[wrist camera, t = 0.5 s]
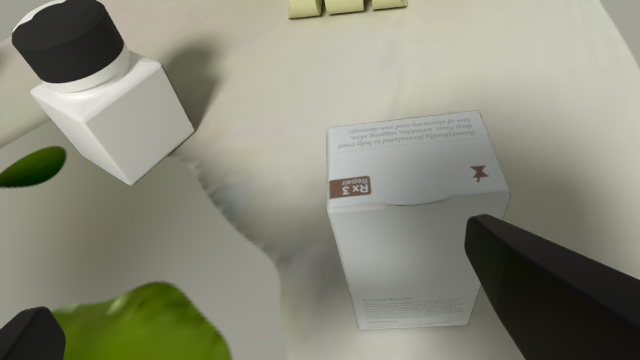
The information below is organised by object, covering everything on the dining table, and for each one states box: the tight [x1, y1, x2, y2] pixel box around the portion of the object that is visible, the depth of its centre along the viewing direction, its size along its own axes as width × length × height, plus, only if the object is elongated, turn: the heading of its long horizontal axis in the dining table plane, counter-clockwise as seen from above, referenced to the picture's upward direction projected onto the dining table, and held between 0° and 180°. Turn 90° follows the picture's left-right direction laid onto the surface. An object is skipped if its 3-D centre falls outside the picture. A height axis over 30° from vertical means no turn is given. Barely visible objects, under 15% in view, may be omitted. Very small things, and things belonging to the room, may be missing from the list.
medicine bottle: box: [12, 0, 194, 185], centre depth 31 cm, size 7×7×12 cm
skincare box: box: [326, 111, 511, 330], centre depth 19 cm, size 6×4×12 cm
